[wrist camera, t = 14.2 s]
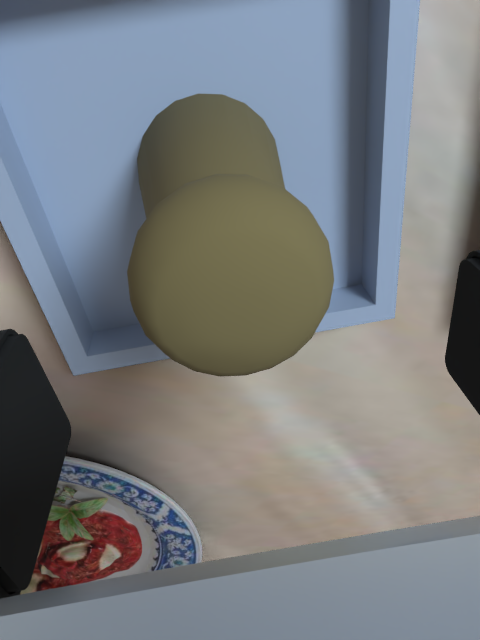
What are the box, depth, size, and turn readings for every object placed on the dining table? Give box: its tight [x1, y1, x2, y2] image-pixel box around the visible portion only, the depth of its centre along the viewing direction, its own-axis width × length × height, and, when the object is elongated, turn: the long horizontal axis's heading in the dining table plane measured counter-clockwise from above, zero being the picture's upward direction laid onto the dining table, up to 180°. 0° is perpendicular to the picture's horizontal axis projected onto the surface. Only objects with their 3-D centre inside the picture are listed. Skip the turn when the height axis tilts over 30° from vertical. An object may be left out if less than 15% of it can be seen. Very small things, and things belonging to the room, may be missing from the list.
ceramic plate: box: [20, 456, 202, 595], centre depth 34 cm, size 26×26×3 cm
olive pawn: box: [127, 93, 334, 376], centre depth 15 cm, size 6×6×11 cm
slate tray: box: [0, 0, 420, 376], centre depth 19 cm, size 16×16×3 cm
